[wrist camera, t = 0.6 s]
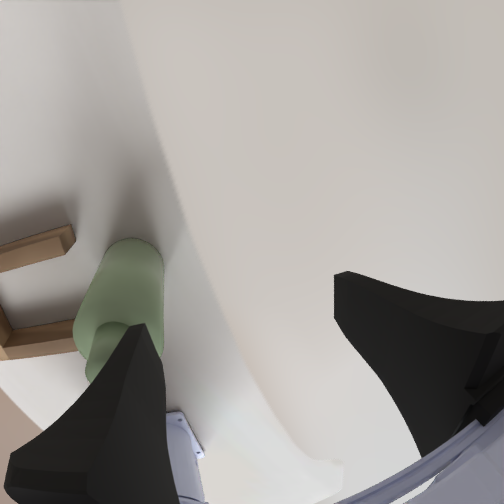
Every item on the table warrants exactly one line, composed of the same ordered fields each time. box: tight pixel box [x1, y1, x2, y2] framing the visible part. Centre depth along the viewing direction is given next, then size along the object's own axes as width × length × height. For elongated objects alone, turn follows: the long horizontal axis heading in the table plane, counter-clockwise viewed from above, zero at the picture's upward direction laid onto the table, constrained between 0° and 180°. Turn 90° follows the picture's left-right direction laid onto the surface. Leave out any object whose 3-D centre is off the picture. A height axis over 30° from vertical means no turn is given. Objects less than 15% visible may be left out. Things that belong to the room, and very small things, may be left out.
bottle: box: [73, 238, 164, 384], centre depth 15 cm, size 4×4×10 cm
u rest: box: [0, 224, 79, 361], centre depth 17 cm, size 8×10×2 cm
